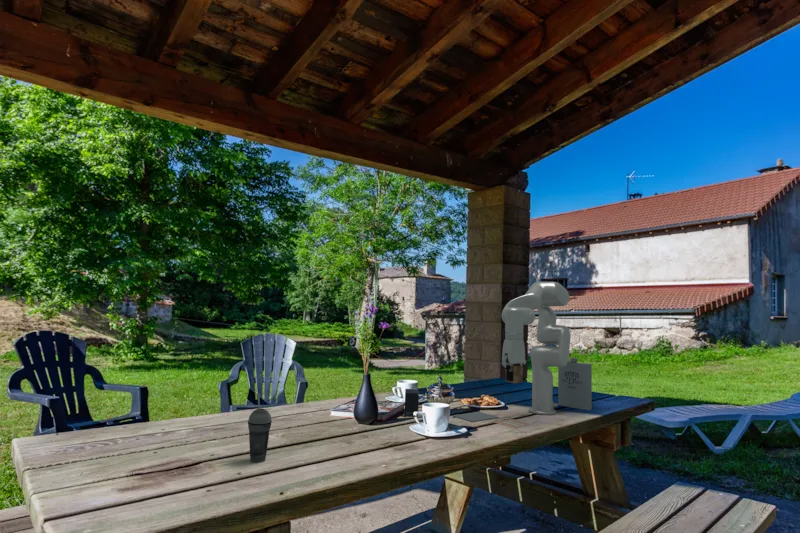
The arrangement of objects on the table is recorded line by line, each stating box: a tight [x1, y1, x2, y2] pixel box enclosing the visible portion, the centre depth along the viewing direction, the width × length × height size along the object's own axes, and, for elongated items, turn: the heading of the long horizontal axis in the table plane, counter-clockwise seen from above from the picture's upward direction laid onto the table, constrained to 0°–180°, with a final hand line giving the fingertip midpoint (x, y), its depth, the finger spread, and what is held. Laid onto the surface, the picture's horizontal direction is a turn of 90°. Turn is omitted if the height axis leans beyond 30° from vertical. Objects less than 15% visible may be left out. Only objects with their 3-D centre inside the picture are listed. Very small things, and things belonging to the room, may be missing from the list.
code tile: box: [493, 418, 534, 429], centre depth 204 cm, size 12×12×1 cm
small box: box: [403, 388, 420, 417], centre depth 221 cm, size 11×6×10 cm, turn 179°
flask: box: [557, 357, 593, 411], centre depth 249 cm, size 17×5×25 cm, turn 44°
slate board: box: [452, 411, 500, 423], centre depth 213 cm, size 16×12×2 cm
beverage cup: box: [247, 393, 273, 464], centre depth 150 cm, size 7×7×20 cm
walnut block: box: [505, 364, 524, 384], centre depth 206 cm, size 5×5×7 cm
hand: (514, 379), depth 205 cm, fingers closed on walnut block, 5 cm apart
